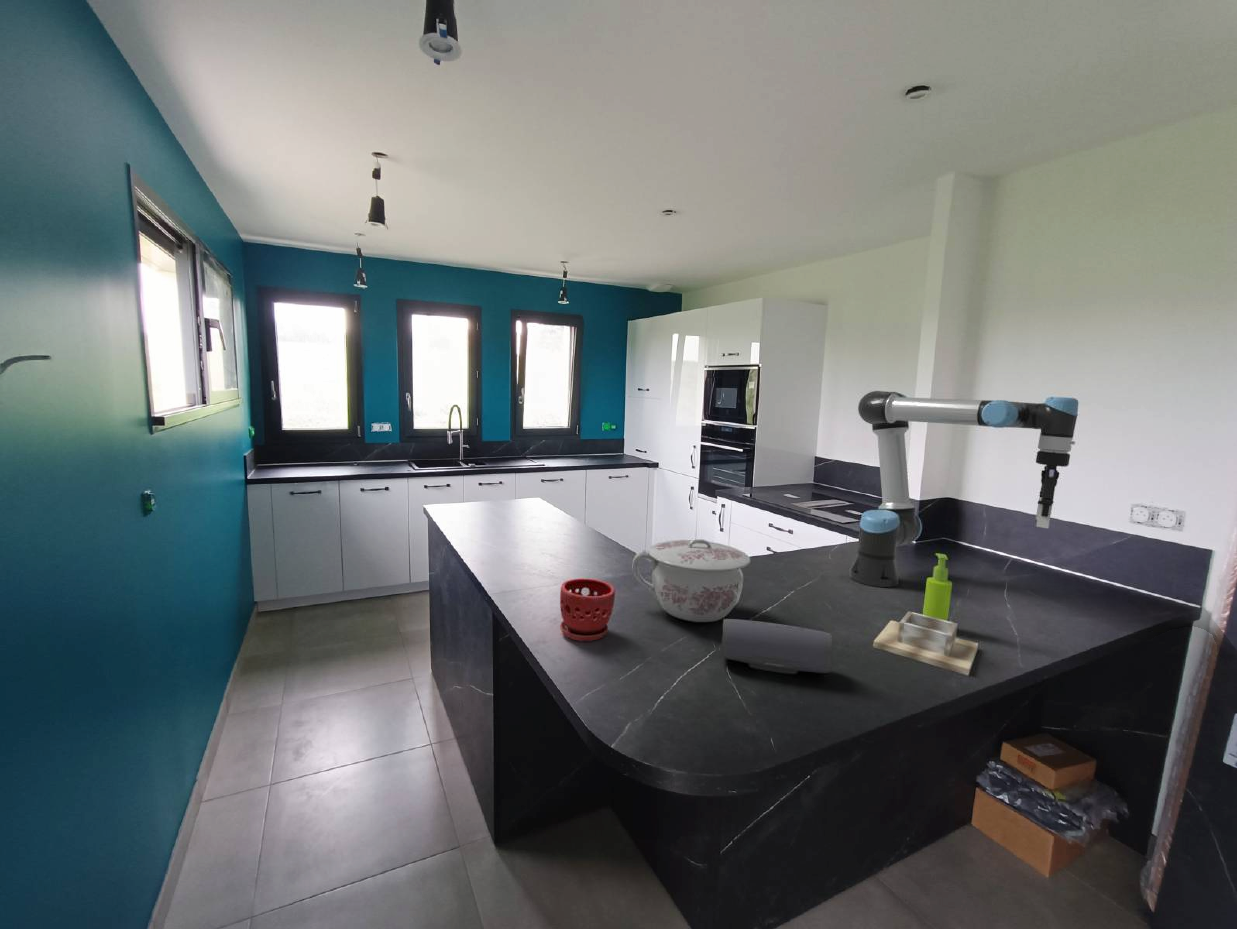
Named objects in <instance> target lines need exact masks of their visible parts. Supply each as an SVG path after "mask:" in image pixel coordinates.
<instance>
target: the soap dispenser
mask: <svg viewBox="0 0 1237 929" xmlns="http://www.w3.org/2000/svg"><path fill="white" fill-rule="evenodd" d="M935 556H937V558H938V561H937V562H938V563H937V565H935V566H933V572H932V577H931V576H930V577H927V578H926V584H925V586H926V587H925V591H924V592H925V593H924V602H923V606H922V608H923V609H922V615H925V616H929V617H933V618H937V619H941V620H945V621H948V619H949V618H948V617H949V612H950V603H951V596H952V590H953V582H952V581H951V580H948V578H949V577H948V575H949V568H947V567H946V561H949V559H948V556H947V555H946V554H944V553H938V552H937V553H935Z"/></svg>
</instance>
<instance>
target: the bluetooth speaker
mask: <svg viewBox="0 0 1237 929" xmlns="http://www.w3.org/2000/svg"><path fill="white" fill-rule="evenodd" d="M722 621H723V622H722V637H721V644H720V657H721V658H724V659H728V660H731V661H735V662H741V663H745V664H748V667H750V668H752V669H757V670H761V671H766V672H775V673H780V674H787V675H788V674H790V675H794V674H795V675H797V673H798V672H810V673H821V674H822V673H823V674H828V673H829V674H830V672H831V669H832V664H833V663H832V662H833V661H832V660H833V659H832V652H833V650H832V647H833V645H832V644H833V638H832V634H831V633H829V632H825V631H823V630H822V631H821V630H816V629H812V628H806V627H800V626H796V625H795V626H793V625H788V624H781V623H773V622H766V621H757V620H748V619H747V620H746V619H738V618H737V619H735V618H723V620H722Z"/></svg>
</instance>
